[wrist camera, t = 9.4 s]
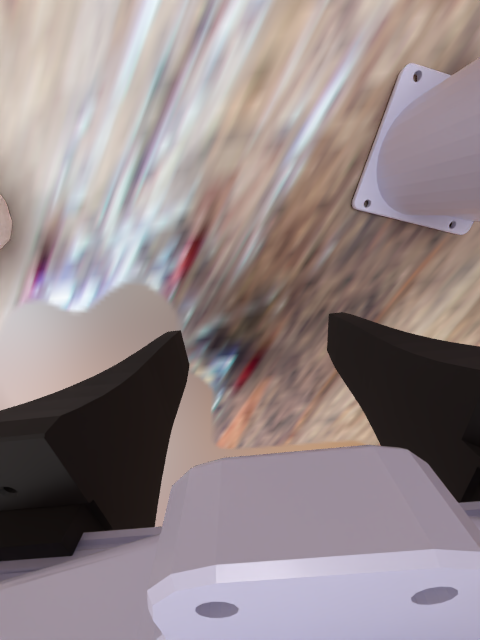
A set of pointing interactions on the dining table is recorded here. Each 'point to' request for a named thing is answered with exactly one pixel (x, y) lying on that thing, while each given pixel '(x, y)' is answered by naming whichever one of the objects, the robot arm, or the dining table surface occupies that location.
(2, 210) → the foam cup
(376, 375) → the robot arm
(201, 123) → the dining table surface
